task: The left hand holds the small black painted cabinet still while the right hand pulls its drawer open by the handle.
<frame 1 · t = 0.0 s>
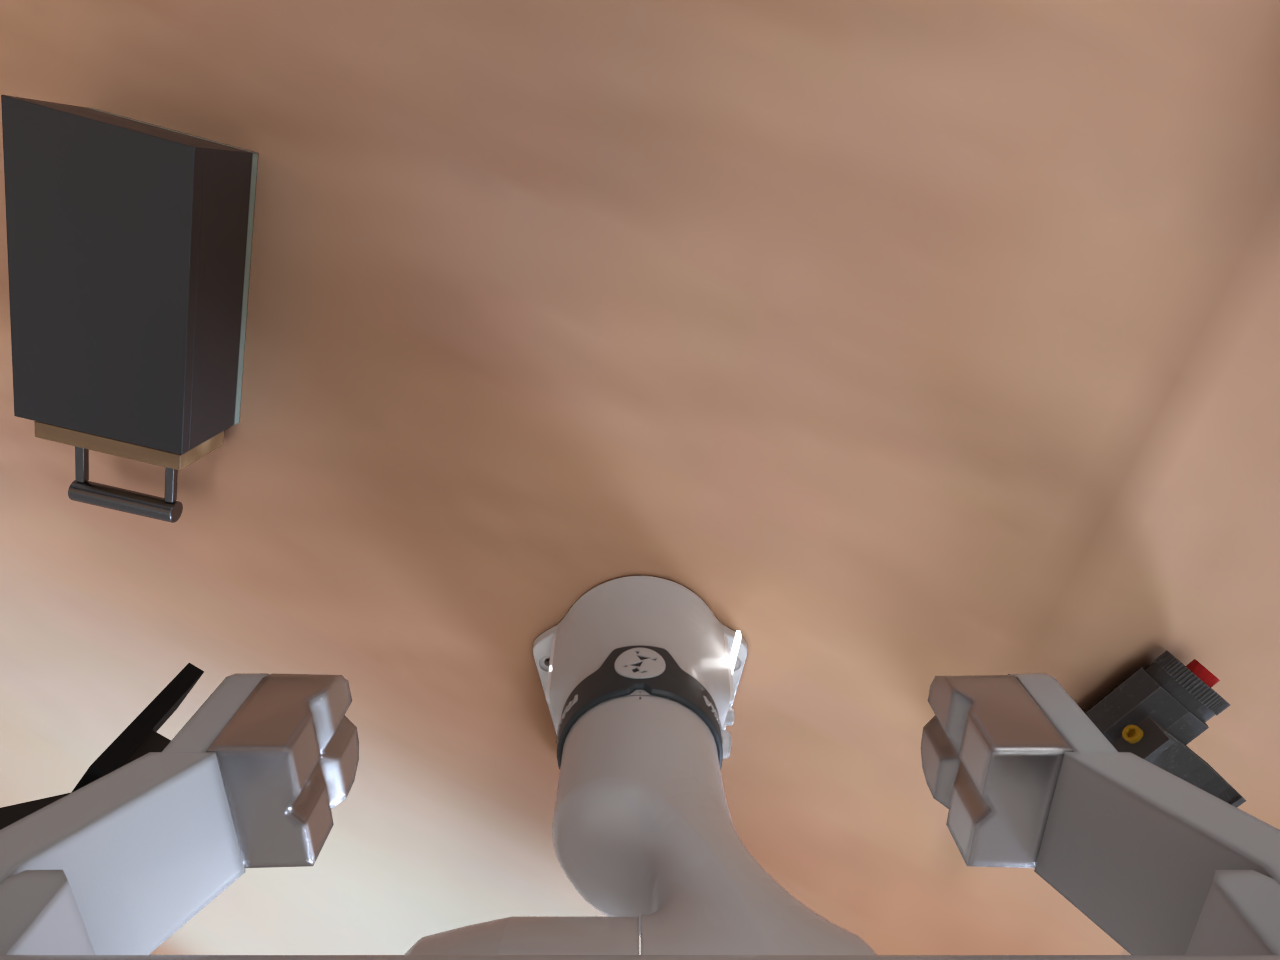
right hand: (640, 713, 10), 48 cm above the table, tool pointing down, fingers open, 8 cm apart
cabinet: (171, 276, 55), on the table
laser sight: (1081, 728, 70), on the table
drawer: (136, 353, 53), point 4 cm above the table, slide at 0.5 cm
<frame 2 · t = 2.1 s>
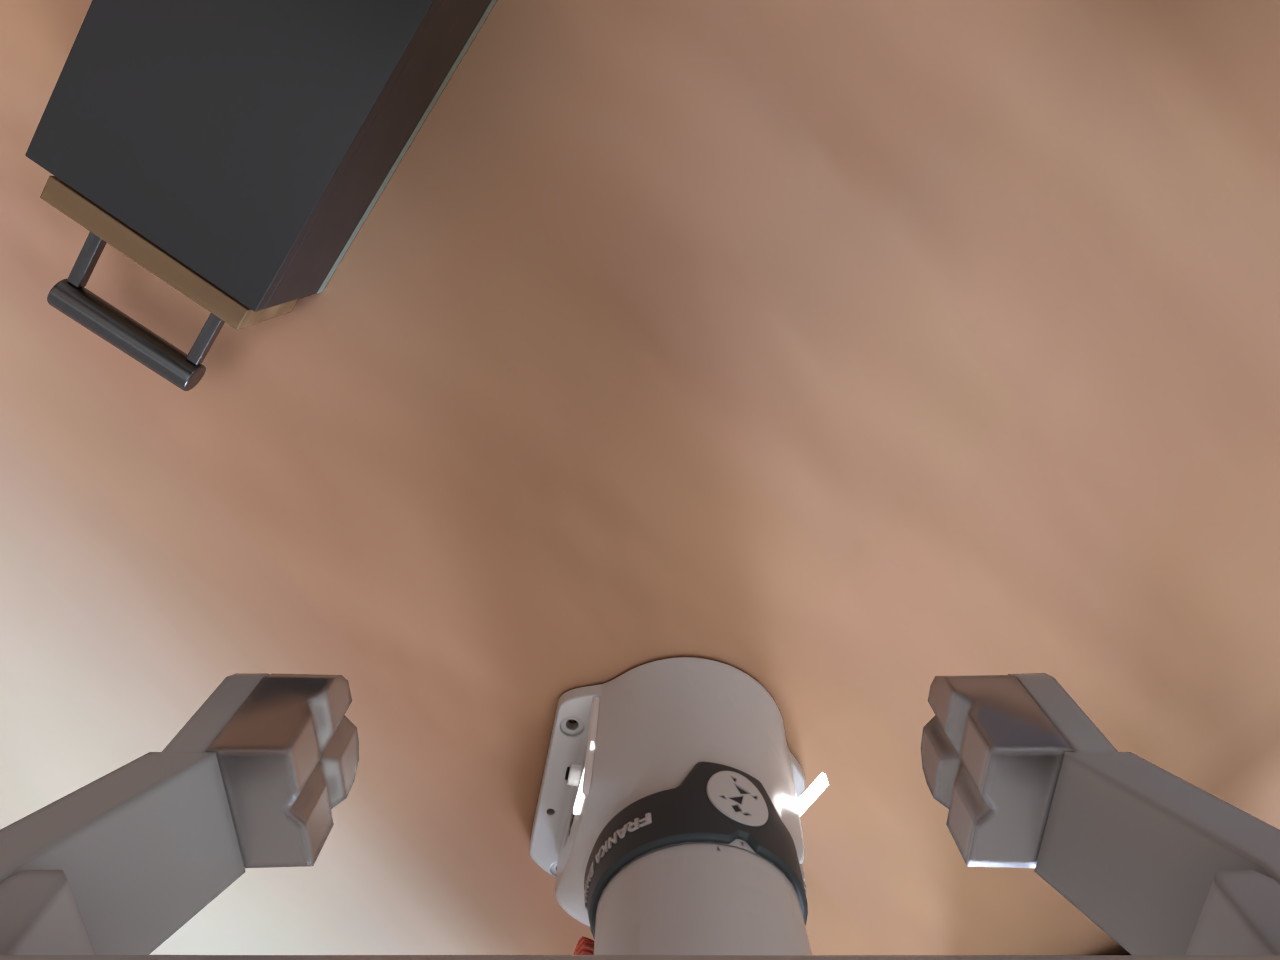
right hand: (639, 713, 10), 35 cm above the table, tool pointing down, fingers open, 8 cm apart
cabinet: (321, 65, 38), on the table
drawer: (238, 145, 36), point 4 cm above the table, slide at 0.5 cm
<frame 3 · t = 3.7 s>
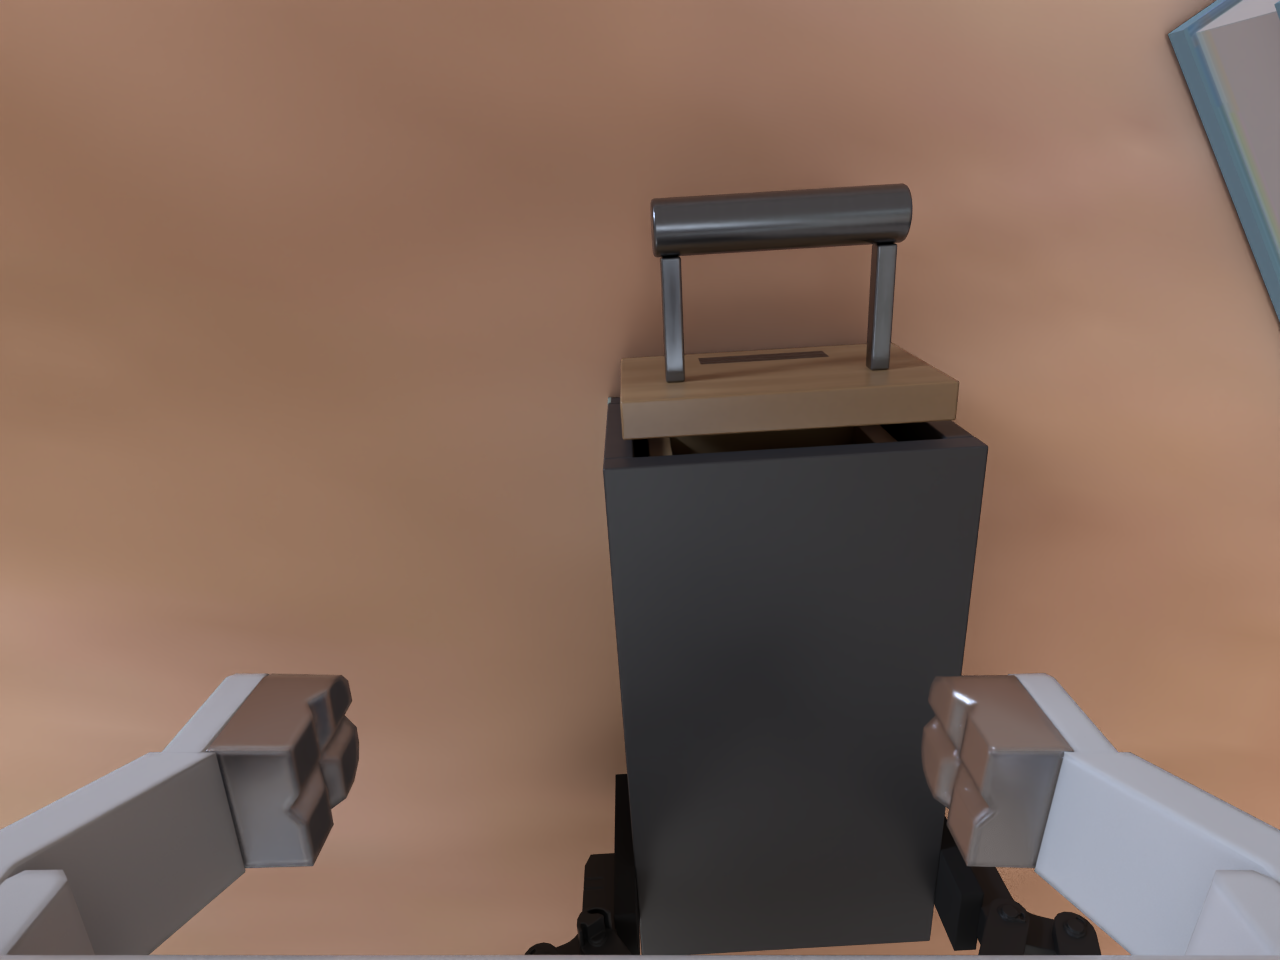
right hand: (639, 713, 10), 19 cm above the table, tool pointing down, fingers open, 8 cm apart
cabinet: (752, 614, 32), on the table, touching left hand
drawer: (769, 552, 27), point 4 cm above the table, slide at 0.5 cm
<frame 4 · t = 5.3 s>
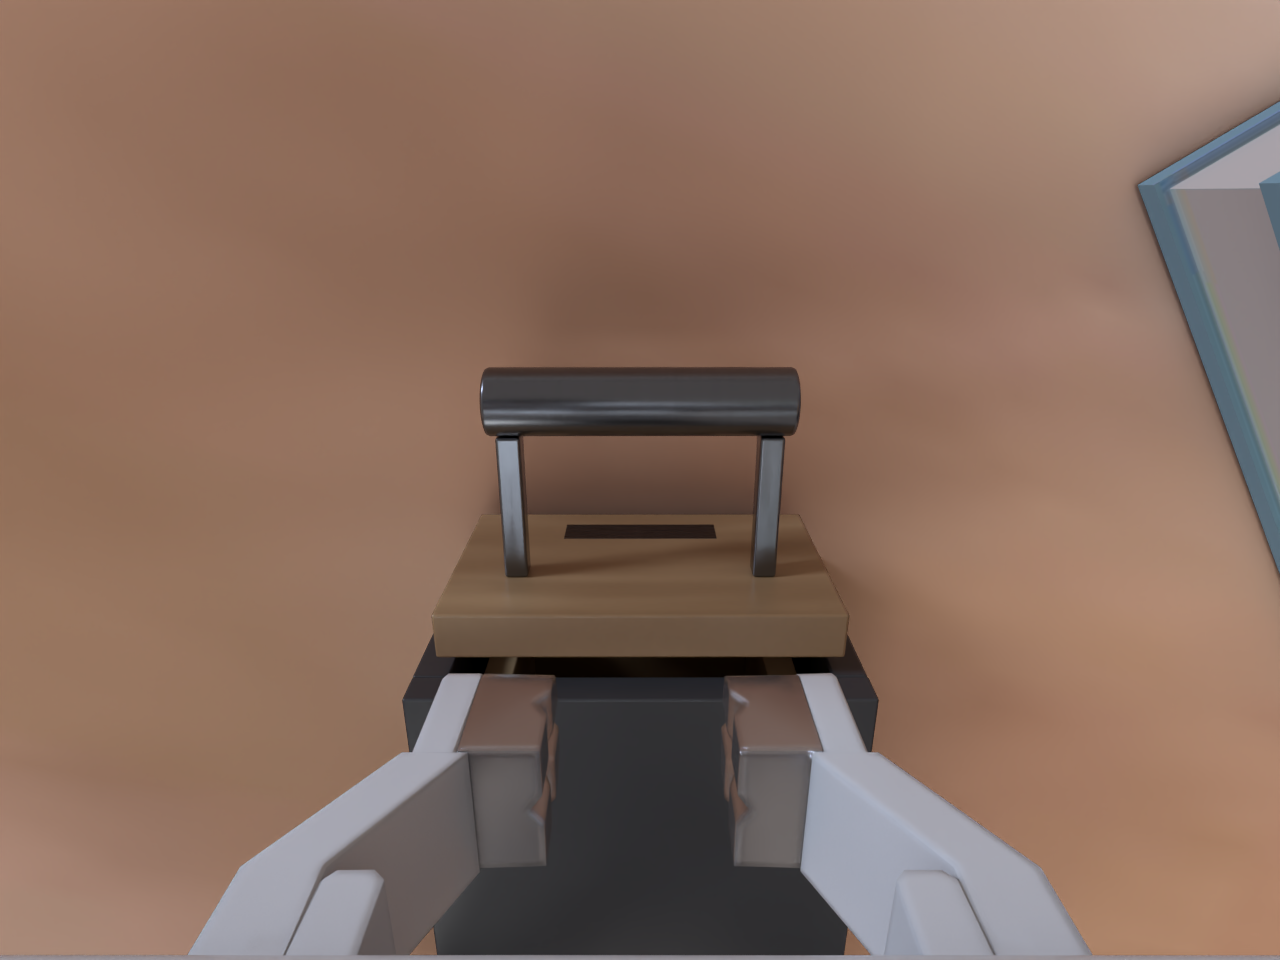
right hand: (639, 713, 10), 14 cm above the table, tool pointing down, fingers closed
cabinet: (640, 788, 28), on the table, touching left hand
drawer: (640, 755, 23), point 4 cm above the table, slide at 0.5 cm
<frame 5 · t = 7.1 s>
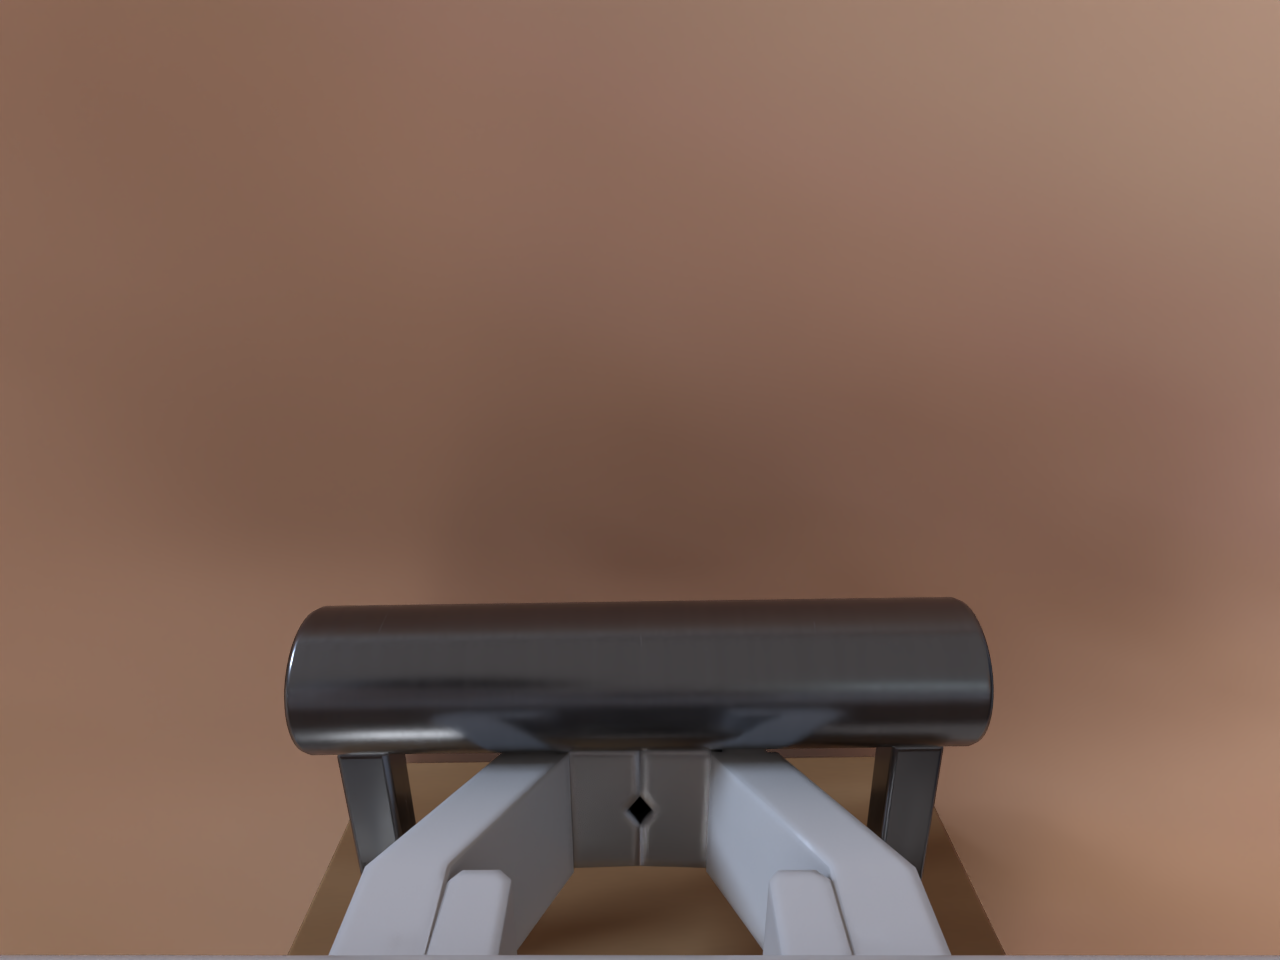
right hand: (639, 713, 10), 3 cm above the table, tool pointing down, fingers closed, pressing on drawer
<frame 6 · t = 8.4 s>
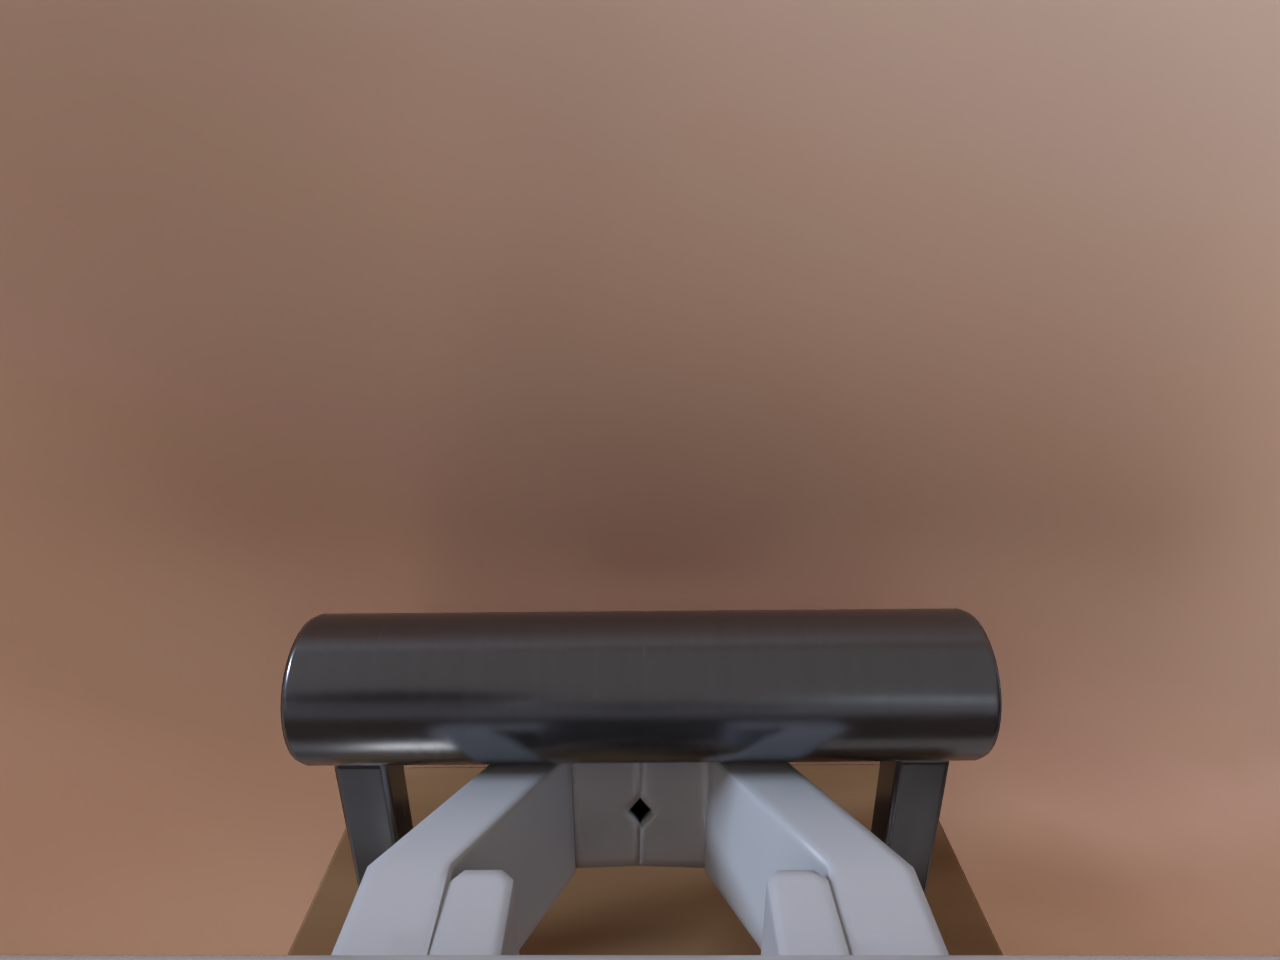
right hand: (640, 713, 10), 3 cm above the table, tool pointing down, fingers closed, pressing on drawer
when the left hand's fingers open (3 cm above the table, at t = 10.2 s): cabinet stays where it is, on the table.
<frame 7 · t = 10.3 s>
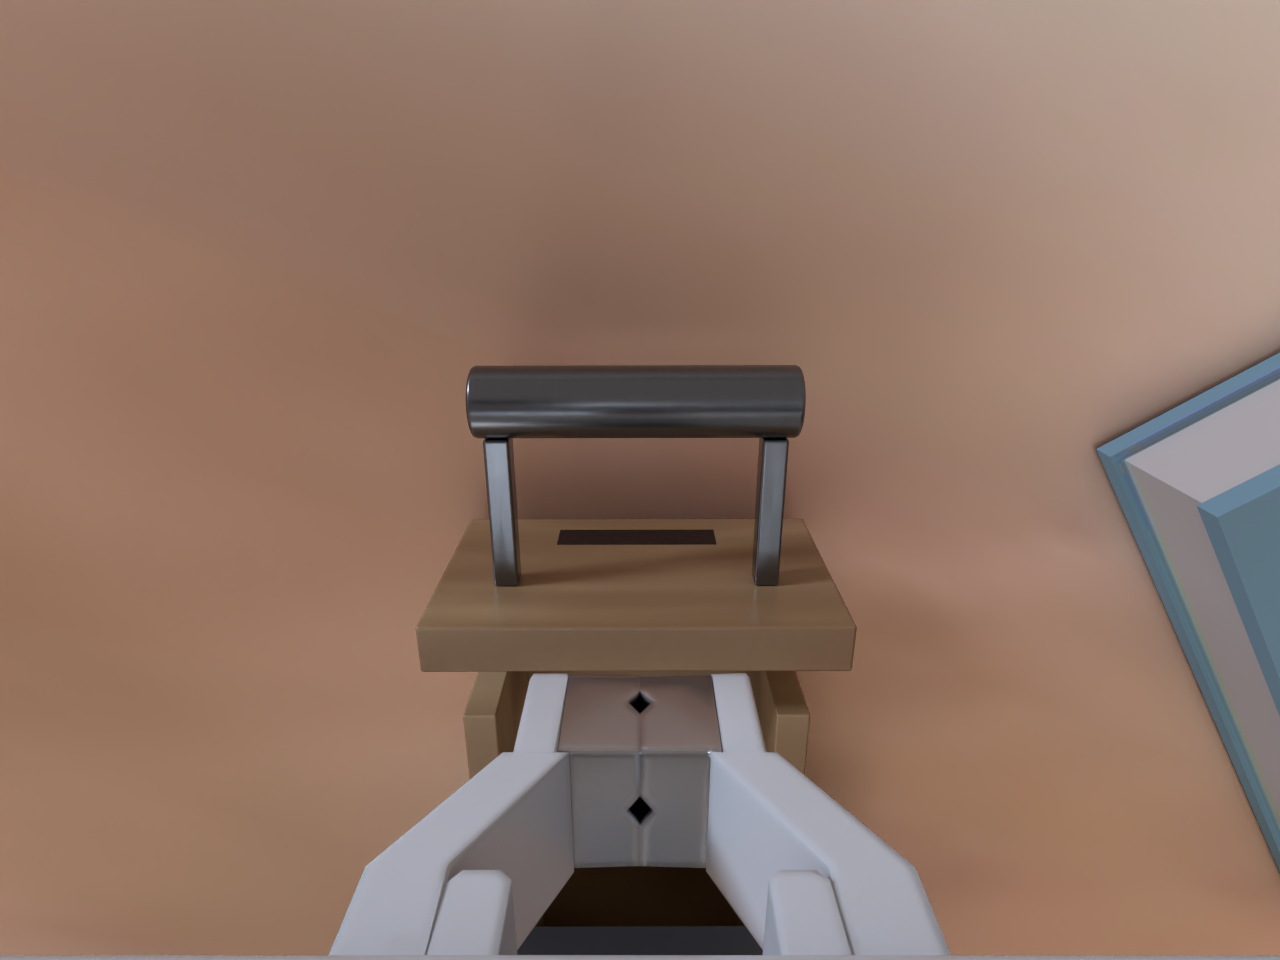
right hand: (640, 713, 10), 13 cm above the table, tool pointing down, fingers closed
cabinet: (638, 946, 30), on the table
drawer: (637, 770, 22), point 4 cm above the table, slide at 7.9 cm
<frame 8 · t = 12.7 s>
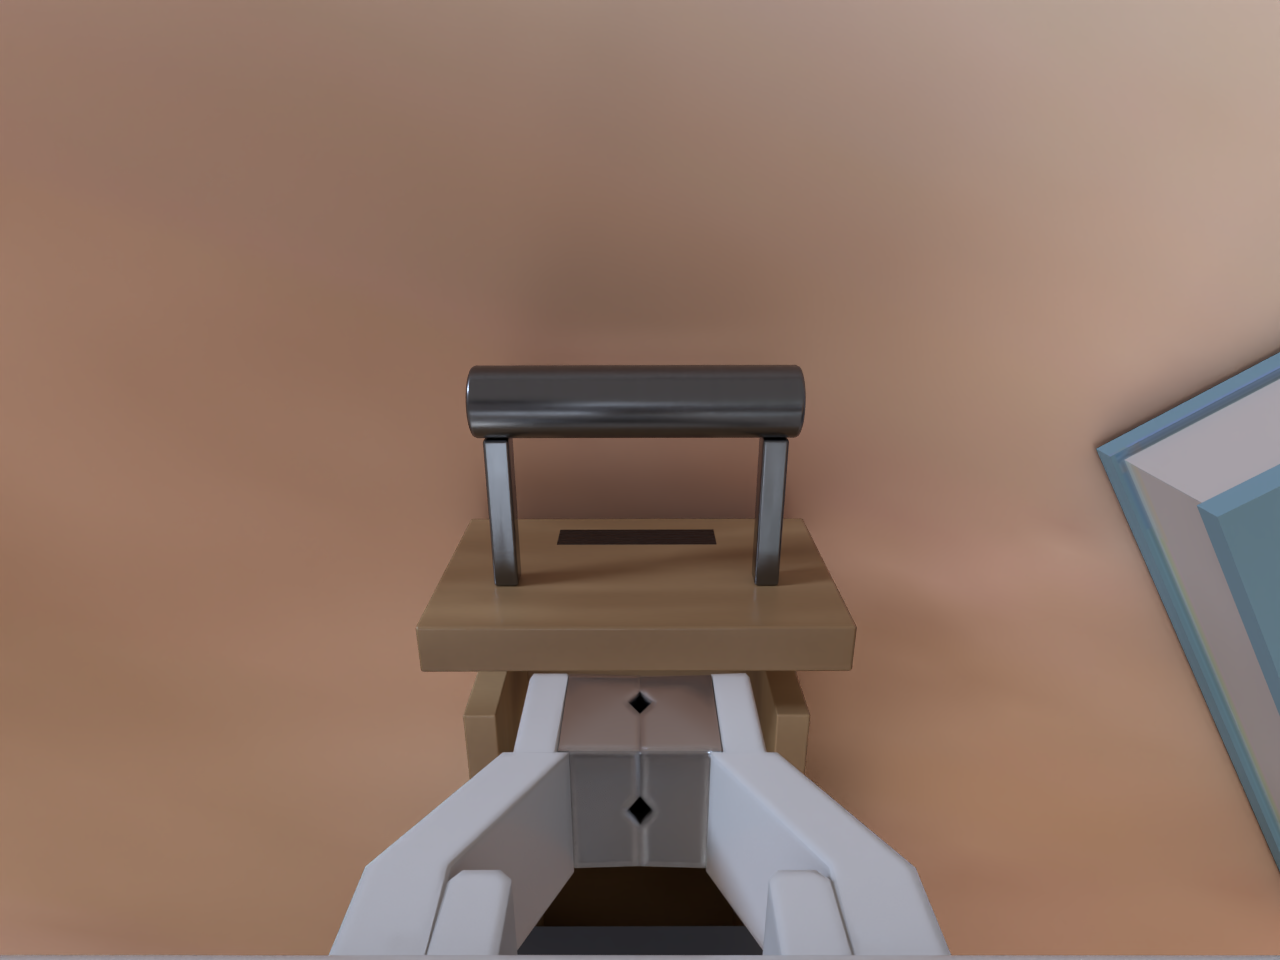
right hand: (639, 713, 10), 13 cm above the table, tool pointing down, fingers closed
cabinet: (638, 946, 30), on the table
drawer: (637, 770, 22), point 4 cm above the table, slide at 7.9 cm
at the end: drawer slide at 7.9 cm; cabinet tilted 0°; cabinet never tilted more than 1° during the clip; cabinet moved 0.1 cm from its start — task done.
